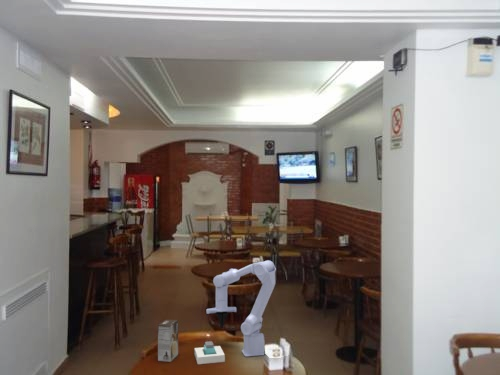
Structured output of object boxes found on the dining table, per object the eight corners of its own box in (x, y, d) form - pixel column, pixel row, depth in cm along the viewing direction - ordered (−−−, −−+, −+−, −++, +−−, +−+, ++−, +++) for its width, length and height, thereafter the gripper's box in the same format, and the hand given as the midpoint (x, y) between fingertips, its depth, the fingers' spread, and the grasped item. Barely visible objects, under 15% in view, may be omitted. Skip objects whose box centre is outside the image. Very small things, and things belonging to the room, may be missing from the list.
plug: (212, 353, 200) (212, 340, 200) (214, 358, 194) (214, 345, 194) (203, 354, 199) (204, 341, 199) (205, 359, 193) (205, 345, 193)
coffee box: (165, 353, 202) (165, 319, 202) (178, 354, 201) (178, 319, 201) (157, 361, 193) (157, 324, 193) (171, 362, 192) (171, 325, 192)
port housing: (220, 352, 204) (220, 345, 204) (224, 361, 192) (224, 354, 192) (194, 354, 201) (194, 348, 201) (197, 364, 189) (197, 357, 189)
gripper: (234, 296, 217) (234, 323, 217) (205, 298, 214) (205, 326, 213) (237, 299, 210) (237, 328, 210) (207, 301, 207) (207, 330, 206)
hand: (221, 327), depth 211 cm, fingers closed
